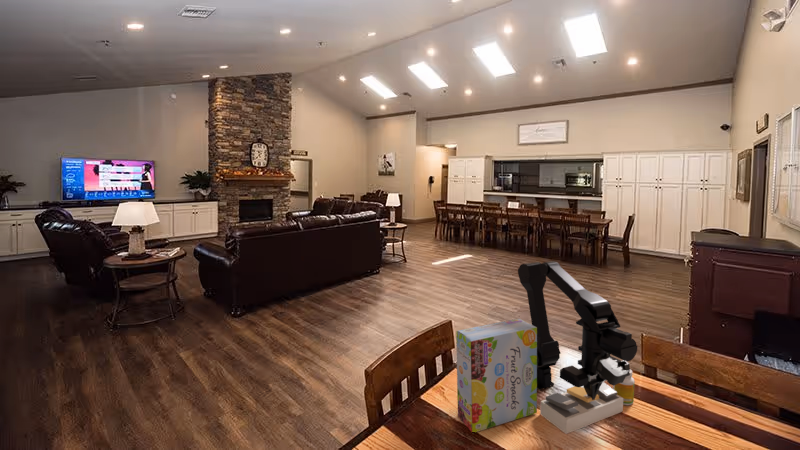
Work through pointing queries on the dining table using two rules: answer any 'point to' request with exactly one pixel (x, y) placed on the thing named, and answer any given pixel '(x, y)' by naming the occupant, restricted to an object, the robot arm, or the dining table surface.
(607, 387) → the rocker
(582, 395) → the rocker middle
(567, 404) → the block
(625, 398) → the supplement bottle
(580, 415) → the rocker switch box
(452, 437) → the dining table surface
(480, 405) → the snack box
